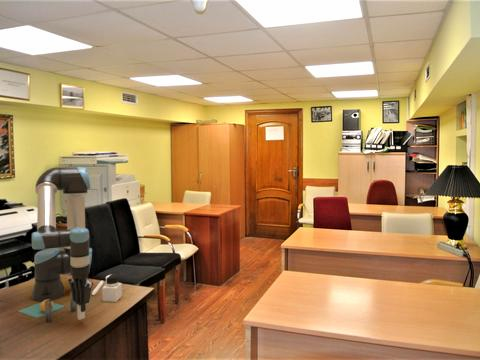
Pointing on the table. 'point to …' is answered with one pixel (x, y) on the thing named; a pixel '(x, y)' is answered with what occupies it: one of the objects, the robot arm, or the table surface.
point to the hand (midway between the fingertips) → (81, 318)
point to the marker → (97, 288)
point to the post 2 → (72, 304)
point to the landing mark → (38, 310)
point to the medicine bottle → (112, 289)
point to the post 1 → (48, 311)
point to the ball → (44, 305)
